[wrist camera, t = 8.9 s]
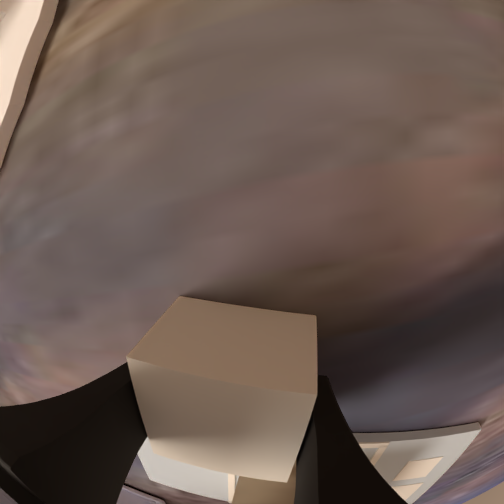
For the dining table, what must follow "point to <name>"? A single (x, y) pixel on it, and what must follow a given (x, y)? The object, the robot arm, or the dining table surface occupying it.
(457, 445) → the board
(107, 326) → the dining table surface
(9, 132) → the white wedge on plate
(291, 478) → the birch block
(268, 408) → the beige maple block
